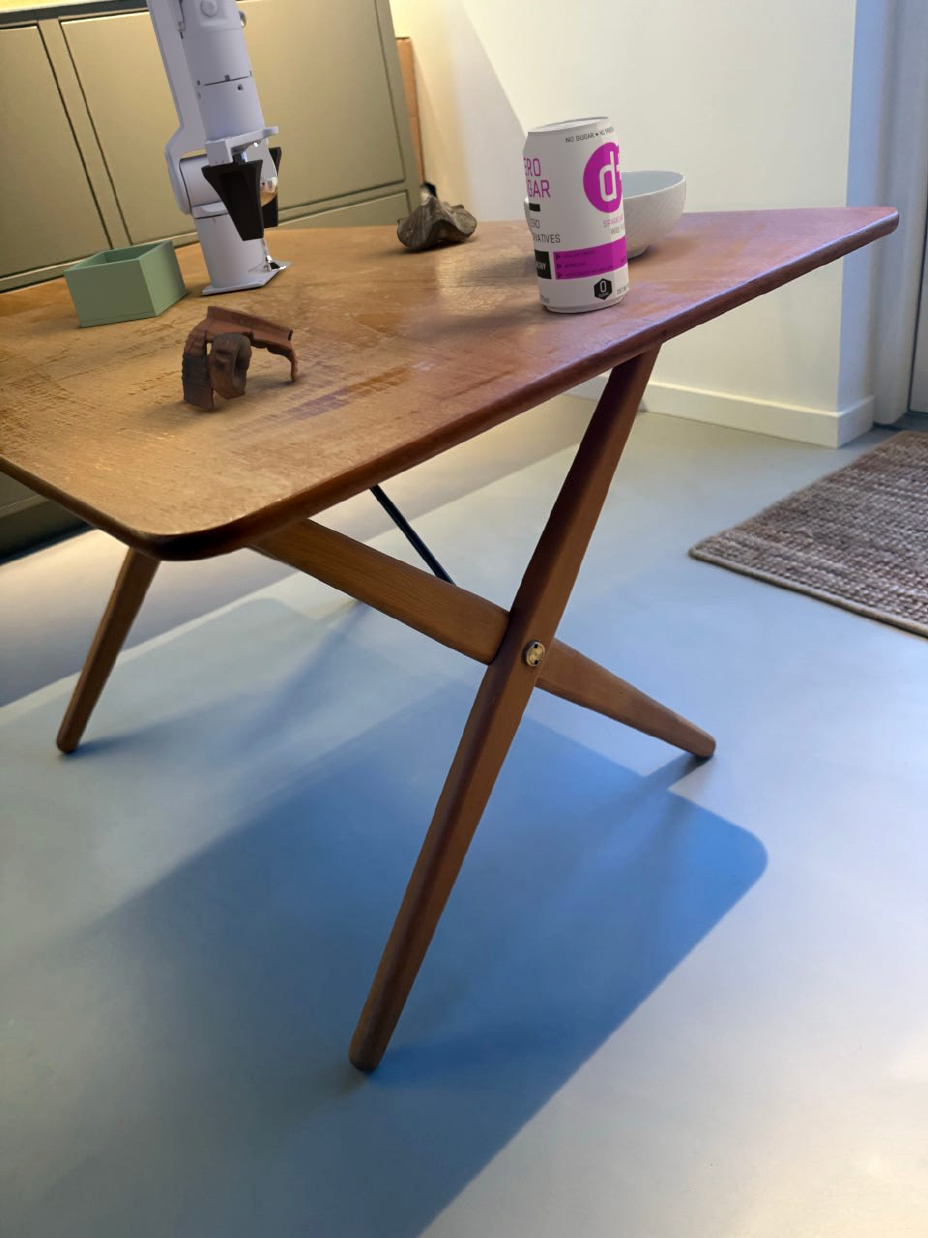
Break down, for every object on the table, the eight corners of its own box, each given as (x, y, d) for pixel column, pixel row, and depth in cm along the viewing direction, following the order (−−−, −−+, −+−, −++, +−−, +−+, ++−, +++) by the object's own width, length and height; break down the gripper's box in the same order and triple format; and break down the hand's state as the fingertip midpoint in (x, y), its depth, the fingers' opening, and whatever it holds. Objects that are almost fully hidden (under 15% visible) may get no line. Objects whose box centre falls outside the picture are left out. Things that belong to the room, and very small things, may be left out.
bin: (117, 303, 131) (100, 251, 127) (187, 293, 129) (172, 239, 126) (81, 327, 121) (62, 271, 118) (156, 316, 119) (139, 259, 116)
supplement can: (647, 291, 93) (635, 111, 85) (593, 317, 88) (576, 129, 81) (577, 288, 98) (560, 119, 91) (523, 312, 93) (500, 135, 86)
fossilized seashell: (476, 212, 133) (405, 237, 135) (461, 171, 127) (387, 197, 129) (484, 251, 129) (411, 276, 131) (468, 210, 124) (392, 237, 126)
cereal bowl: (501, 276, 108) (492, 206, 104) (577, 239, 119) (571, 175, 116) (646, 274, 99) (641, 197, 95) (713, 234, 110) (711, 164, 106)
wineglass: (286, 271, 100) (254, 139, 94) (233, 278, 101) (198, 148, 95) (305, 258, 104) (276, 131, 98) (254, 264, 106) (222, 140, 100)
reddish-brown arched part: (179, 397, 89) (199, 303, 87) (286, 425, 91) (306, 333, 89) (162, 400, 77) (184, 291, 76) (285, 432, 79) (308, 326, 78)
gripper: (243, 78, 87) (282, 241, 94) (282, 70, 100) (313, 214, 107) (167, 92, 88) (210, 252, 95) (214, 82, 101) (250, 224, 108)
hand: (260, 233), depth 101 cm, fingers closed on wineglass, 5 cm apart
